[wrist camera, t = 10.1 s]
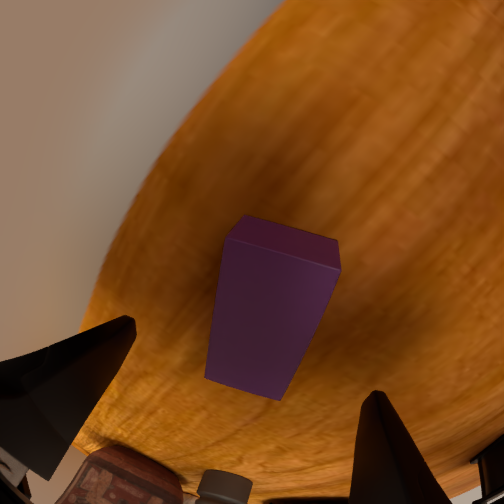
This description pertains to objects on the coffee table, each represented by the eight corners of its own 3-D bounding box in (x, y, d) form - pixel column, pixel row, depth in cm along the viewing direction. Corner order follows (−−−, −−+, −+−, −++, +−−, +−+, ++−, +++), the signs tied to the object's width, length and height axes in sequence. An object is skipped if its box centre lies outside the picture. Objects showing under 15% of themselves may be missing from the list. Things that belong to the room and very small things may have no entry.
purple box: (287, 366, 14) (280, 401, 12) (219, 345, 14) (204, 378, 12) (338, 240, 10) (341, 269, 8) (244, 214, 11) (224, 236, 9)
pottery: (79, 418, 30) (27, 494, 14) (177, 462, 26) (127, 566, 10) (122, 463, 38) (87, 524, 22) (203, 494, 34) (172, 567, 18)
